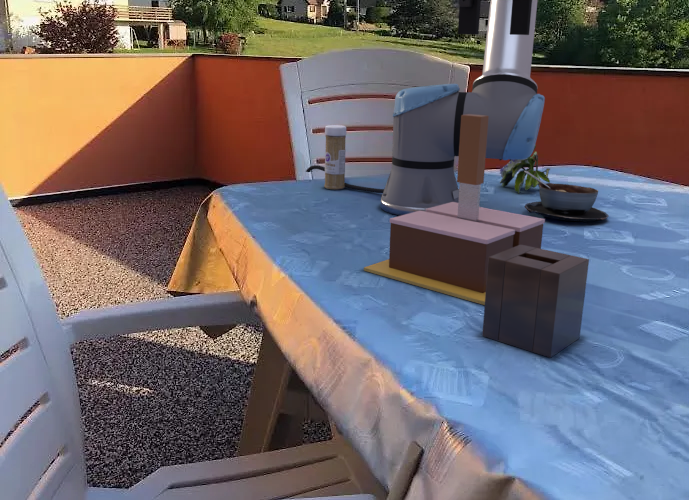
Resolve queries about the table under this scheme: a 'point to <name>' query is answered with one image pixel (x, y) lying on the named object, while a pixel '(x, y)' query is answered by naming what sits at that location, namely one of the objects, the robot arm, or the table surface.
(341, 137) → the sprinkles bottle
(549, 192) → the soup bowl
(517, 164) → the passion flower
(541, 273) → the knife block
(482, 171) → the knife
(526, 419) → the table surface
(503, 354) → the table surface
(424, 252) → the cake
